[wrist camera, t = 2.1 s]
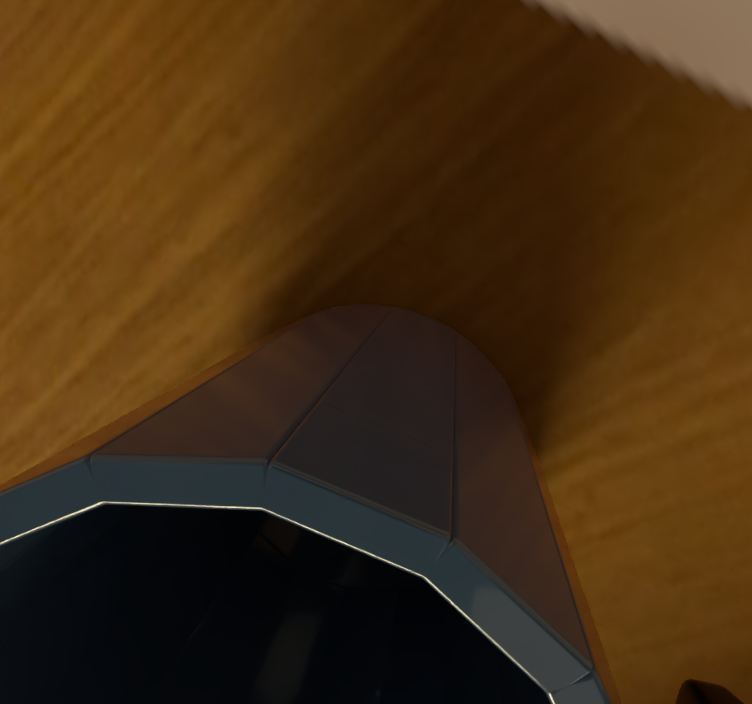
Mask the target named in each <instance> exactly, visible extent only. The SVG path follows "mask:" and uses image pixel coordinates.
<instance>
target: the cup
mask: <svg viewBox="0 0 752 704" xmlns="http://www.w3.org/2000/svg"><path fill="white" fill-rule="evenodd" d="M0 704H622V702H621V699H620V696H619V693H618V690H617V687H616V684H615V681H614V679H613V676H612V673H611V670H610V667H609V664H608V661H607V658H606V655H605V652H604V649H603V647H602V644H601V641H600V638H599V635H598V632H597V629H596V626H595V623H594V620H593V617H592V615H591V612H590V609H589V606H588V603H587V600H586V597H585V594H584V591H583V588H582V586H581V583H580V580H579V577H578V574H577V571H576V568H575V565H574V562H573V559H572V556H571V554H570V551H569V548H568V545H567V542H566V539H565V536H564V533H563V530H562V527H561V524H560V522H559V519H558V516H557V513H556V510H555V507H554V504H553V501H552V498H551V495H550V493H549V490H548V487H547V484H546V481H545V478H544V475H543V472H542V469H541V466H540V463H539V461H538V458H537V455H536V452H535V449H534V446H533V443H532V440H531V437H530V435H529V433H528V430H527V428H526V425H525V423H524V421H523V418H522V416H521V414H520V411H519V408H518V406H517V403H516V401H515V399H514V397H513V395H512V392H511V390H510V388H509V385H508V383H507V381H506V380H505V378H504V377H503V376H502V375H501V374H500V373H499V371H498V370H497V369H496V367H495V366H494V365H493V364H492V362H491V361H490V360H489V359H488V358H487V357H486V356H485V355H484V354H483V353H482V352H481V350H479V349H478V348H477V347H476V346H475V345H473V344H472V343H471V342H470V341H469V340H468V339H466V338H465V337H464V336H462V335H461V334H459V333H458V332H456V331H455V330H453V329H451V328H450V327H448V326H447V325H445V324H443V323H441V322H439V321H437V320H434V319H432V318H430V317H428V316H426V315H423V314H420V313H416V312H413V311H410V310H407V309H403V308H397V307H392V306H386V305H371V304H358V305H346V306H339V307H335V308H327V309H323V310H320V311H318V312H316V313H313V314H311V315H308V316H305V317H303V318H301V319H299V320H297V321H295V322H293V323H291V324H289V325H287V326H285V327H282V328H280V329H278V330H276V331H273V332H271V333H269V334H267V335H266V336H264V337H262V338H260V339H259V340H257V341H255V342H253V343H251V344H250V345H248V346H246V347H244V348H243V349H241V350H239V351H237V352H236V353H234V354H232V355H230V356H228V357H227V358H225V359H223V360H221V361H220V362H218V363H216V364H214V365H212V366H211V367H209V368H207V369H205V370H204V371H202V372H200V373H198V374H196V375H195V376H193V377H191V378H189V379H188V380H186V381H184V382H182V383H181V384H179V385H177V386H175V387H173V388H172V389H170V390H168V391H166V392H165V393H163V394H161V395H159V396H157V397H156V398H154V399H152V400H150V401H149V402H147V403H145V404H143V405H141V406H140V407H138V408H136V409H134V410H133V411H131V412H129V413H127V414H126V415H124V416H122V417H120V418H118V419H117V420H115V421H113V422H111V423H110V424H108V425H106V426H104V427H102V428H101V429H99V430H97V431H95V432H94V433H92V434H90V435H88V436H87V437H85V438H83V439H81V440H79V441H78V442H76V443H74V444H72V445H71V446H69V447H67V448H65V449H63V450H62V451H60V452H58V453H56V454H55V455H53V456H51V457H49V458H47V459H46V460H44V461H42V462H40V463H39V464H37V465H35V466H33V467H32V468H30V469H28V470H26V471H24V472H23V473H21V474H19V475H17V476H16V477H14V478H12V479H10V480H8V481H7V482H5V483H3V484H1V485H0Z"/></svg>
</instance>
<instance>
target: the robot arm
mask: <svg viewBox="0 0 752 704" xmlns="http://www.w3.org/2000/svg"><path fill="white" fill-rule="evenodd" d="M675 704H743V703H742V702H741V701H740V700H739V699H738V698H737V697H735V696H734V695H733V694H732V693H731V692H730V691H728V690H727V689H726V688H725V687H723V686H720V685H718V684H713V683H708V682H703V681H698V680H693V679H689V680H686V681H684V683H683V684H682V685H681V688H680V690H679V693H678V697H677V700H676V703H675Z"/></svg>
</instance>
